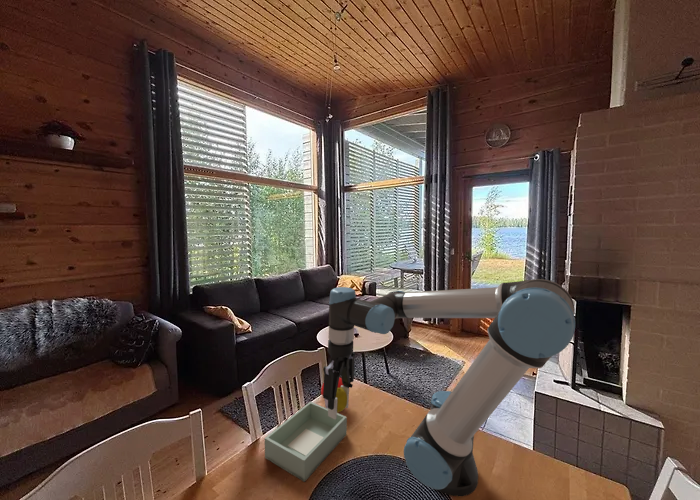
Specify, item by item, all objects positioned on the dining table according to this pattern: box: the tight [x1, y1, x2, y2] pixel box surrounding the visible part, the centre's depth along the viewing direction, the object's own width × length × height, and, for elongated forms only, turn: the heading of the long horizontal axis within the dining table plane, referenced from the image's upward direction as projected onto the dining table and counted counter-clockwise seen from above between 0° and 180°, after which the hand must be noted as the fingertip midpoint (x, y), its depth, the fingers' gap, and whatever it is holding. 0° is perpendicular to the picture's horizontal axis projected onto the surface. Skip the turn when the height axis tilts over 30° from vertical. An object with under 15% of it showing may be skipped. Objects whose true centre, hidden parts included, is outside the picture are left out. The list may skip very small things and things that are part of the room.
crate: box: [264, 401, 348, 482], centre depth 97 cm, size 16×22×6 cm
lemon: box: [336, 388, 347, 413], centre depth 93 cm, size 6×6×8 cm
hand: (338, 411), depth 93 cm, fingers closed on lemon, 5 cm apart
